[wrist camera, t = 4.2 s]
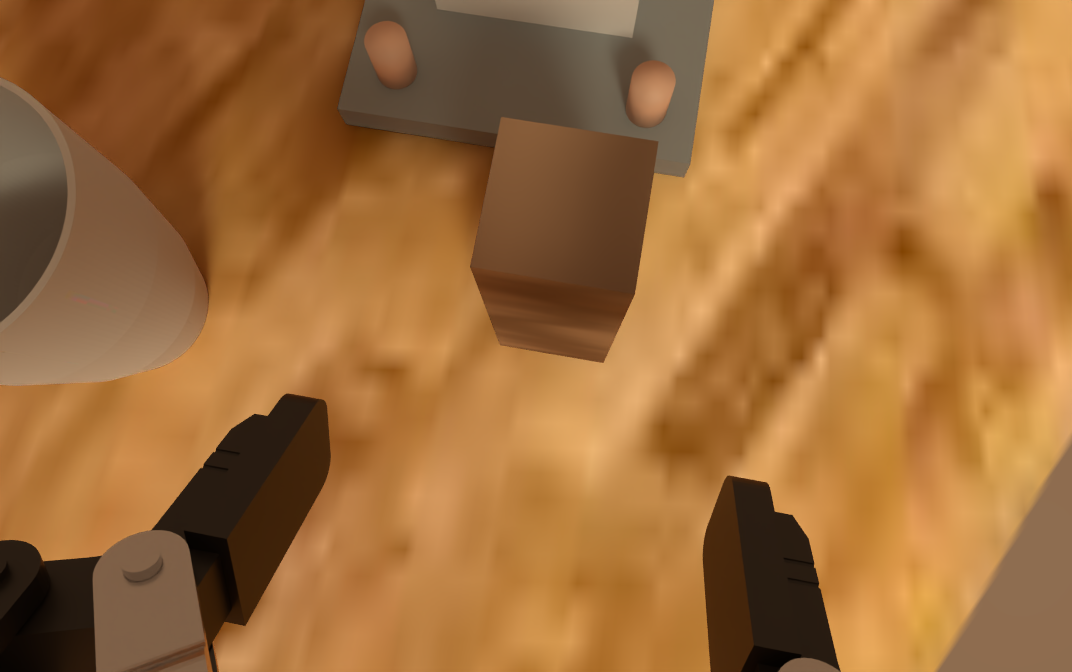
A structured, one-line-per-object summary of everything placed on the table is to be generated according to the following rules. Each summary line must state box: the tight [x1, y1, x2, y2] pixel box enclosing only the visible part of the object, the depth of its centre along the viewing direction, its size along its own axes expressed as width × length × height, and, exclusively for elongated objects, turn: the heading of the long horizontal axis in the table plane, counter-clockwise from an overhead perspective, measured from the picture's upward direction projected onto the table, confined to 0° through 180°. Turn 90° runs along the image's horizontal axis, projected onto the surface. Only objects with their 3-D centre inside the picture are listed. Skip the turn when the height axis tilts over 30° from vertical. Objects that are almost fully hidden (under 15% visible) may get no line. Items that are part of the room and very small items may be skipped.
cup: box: [0, 77, 208, 386], centre depth 22 cm, size 8×8×10 cm
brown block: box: [470, 117, 659, 363], centre depth 22 cm, size 4×4×10 cm
